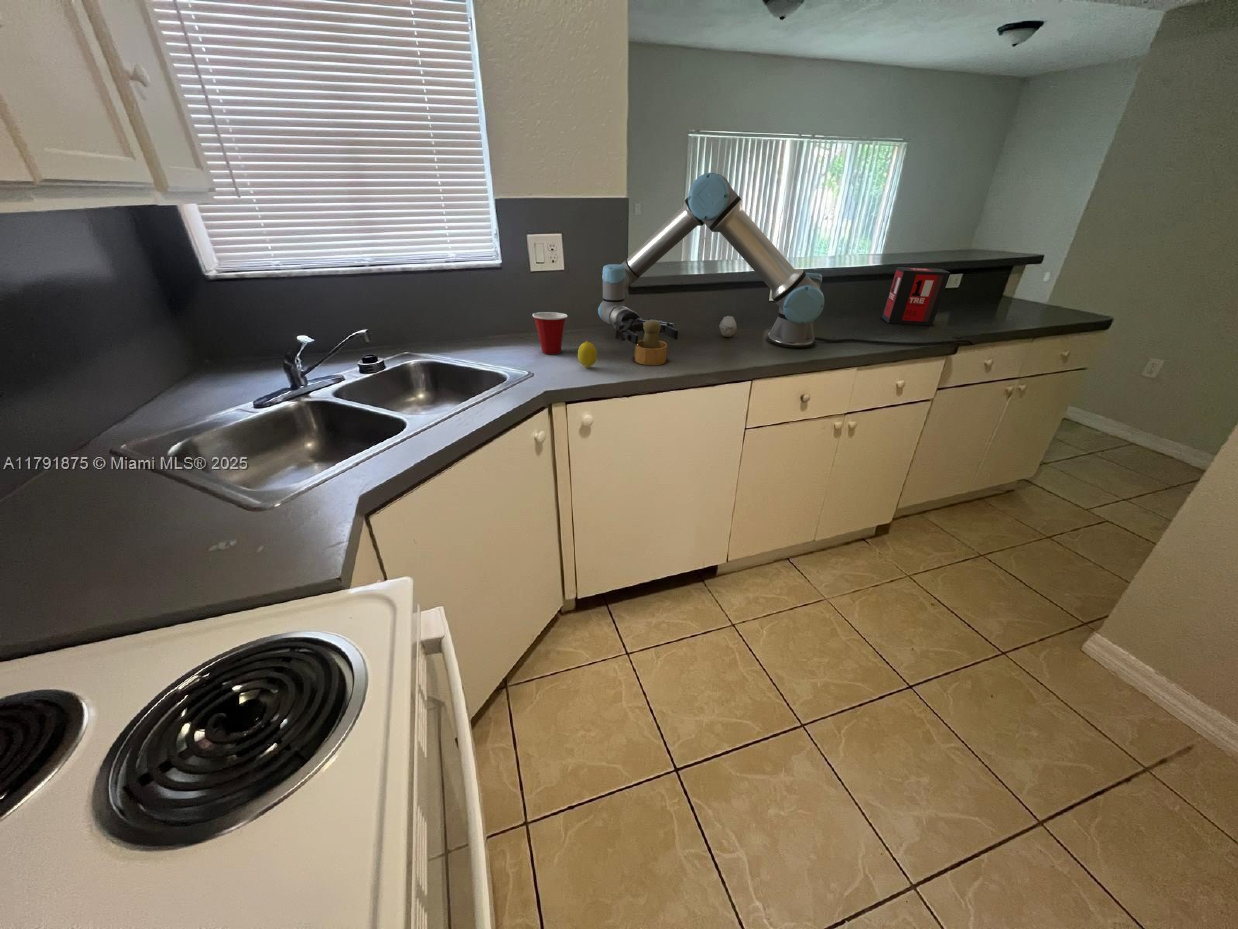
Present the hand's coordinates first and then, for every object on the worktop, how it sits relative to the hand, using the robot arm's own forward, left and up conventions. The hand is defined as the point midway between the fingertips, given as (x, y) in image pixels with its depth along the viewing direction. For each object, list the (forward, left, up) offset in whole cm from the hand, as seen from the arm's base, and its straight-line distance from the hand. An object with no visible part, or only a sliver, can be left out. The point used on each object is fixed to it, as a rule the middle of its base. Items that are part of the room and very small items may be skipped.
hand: (657, 337), depth 144 cm
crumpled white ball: (-21, -36, -8) cm, 42 cm away
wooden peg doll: (+2, -3, -7) cm, 8 cm away
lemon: (+19, +9, -8) cm, 23 cm away
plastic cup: (+34, -3, -8) cm, 35 cm away
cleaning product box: (-93, -78, -8) cm, 121 cm away
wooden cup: (+2, -3, -8) cm, 9 cm away
